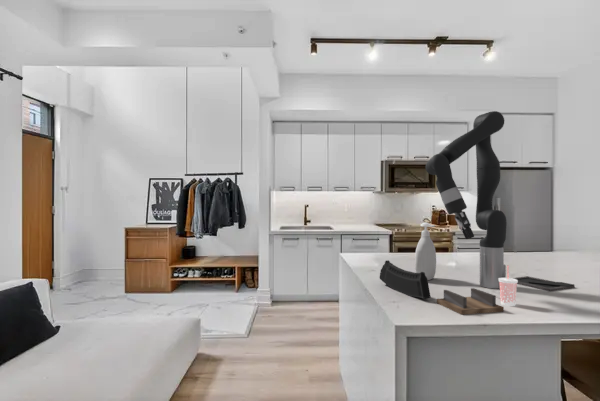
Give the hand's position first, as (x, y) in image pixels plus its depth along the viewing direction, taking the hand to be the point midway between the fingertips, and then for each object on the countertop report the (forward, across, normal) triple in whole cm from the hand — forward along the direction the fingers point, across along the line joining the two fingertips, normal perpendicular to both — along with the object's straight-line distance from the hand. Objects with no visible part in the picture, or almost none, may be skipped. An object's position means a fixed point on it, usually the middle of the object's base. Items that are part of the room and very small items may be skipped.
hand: (470, 238), depth 146 cm
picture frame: (+30, +31, -22) cm, 48 cm away
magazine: (+12, -1, +33) cm, 35 cm away
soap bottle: (+12, +26, +22) cm, 36 cm away
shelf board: (+22, -16, +12) cm, 30 cm away
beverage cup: (+26, -8, -1) cm, 27 cm away
